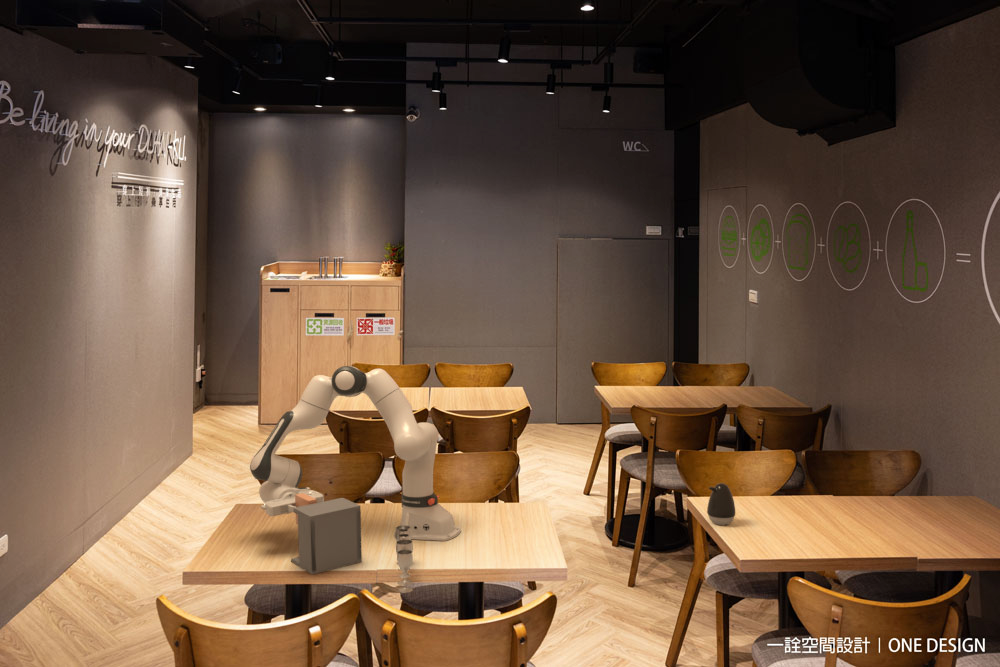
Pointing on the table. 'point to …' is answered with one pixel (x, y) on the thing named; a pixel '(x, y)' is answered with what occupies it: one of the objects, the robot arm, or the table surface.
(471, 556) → the table surface
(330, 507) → the overhang dock
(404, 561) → the goblet set
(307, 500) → the tile panel
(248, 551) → the table surface
